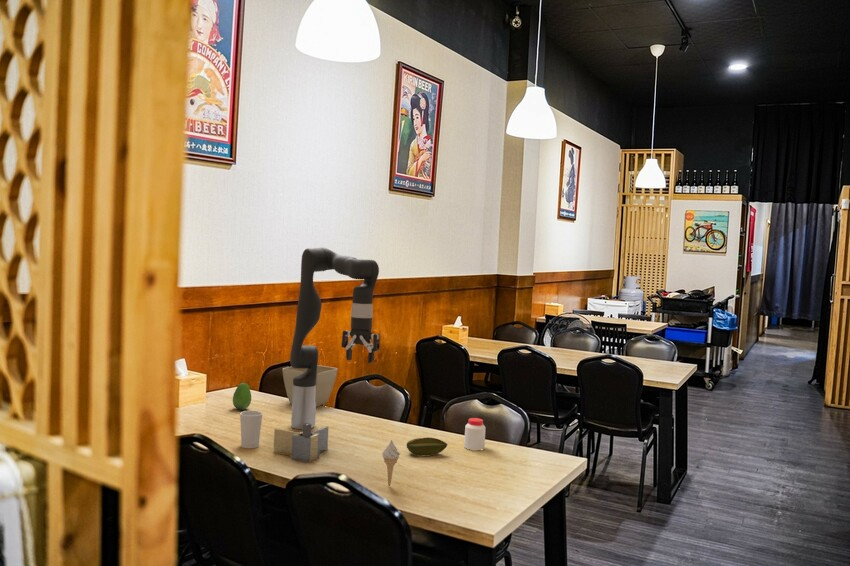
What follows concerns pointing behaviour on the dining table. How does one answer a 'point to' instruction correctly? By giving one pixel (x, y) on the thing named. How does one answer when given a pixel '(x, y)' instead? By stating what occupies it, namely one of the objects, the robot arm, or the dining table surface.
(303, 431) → the hinge pin
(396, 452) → the ice cream cone
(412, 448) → the fruit
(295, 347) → the robot arm
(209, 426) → the dining table surface
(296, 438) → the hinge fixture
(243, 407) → the fruit
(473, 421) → the pill bottle
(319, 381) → the flower pot
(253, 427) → the cup
